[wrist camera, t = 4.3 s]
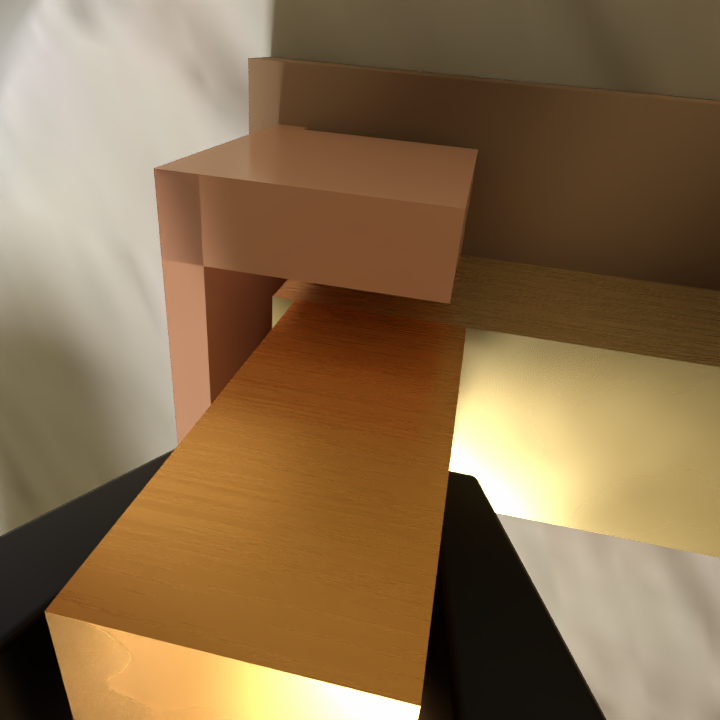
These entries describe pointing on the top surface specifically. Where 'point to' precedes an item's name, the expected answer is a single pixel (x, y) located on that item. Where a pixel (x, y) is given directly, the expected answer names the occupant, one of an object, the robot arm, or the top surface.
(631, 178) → the walnut board
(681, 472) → the wooden blocks
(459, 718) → the robot arm
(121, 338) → the top surface
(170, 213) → the terracotta socket
